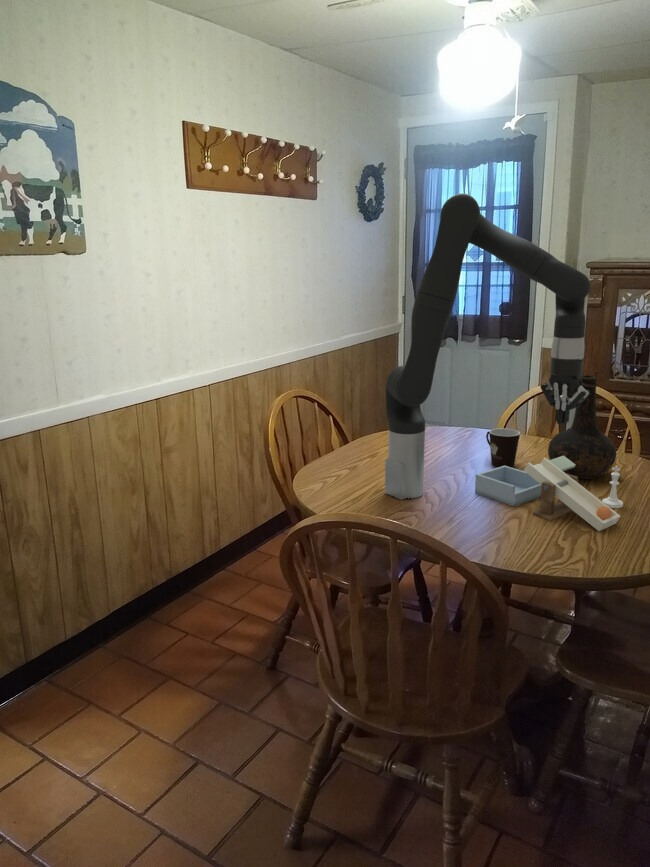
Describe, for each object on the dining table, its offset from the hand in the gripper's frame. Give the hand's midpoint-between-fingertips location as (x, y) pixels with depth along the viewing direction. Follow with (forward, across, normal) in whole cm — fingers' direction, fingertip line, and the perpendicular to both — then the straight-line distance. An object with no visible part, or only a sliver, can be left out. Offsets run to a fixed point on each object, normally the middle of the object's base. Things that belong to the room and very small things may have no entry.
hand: (562, 424), depth 166 cm
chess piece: (+19, +13, +5) cm, 23 cm away
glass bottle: (+19, -5, +19) cm, 27 cm away
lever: (+14, +9, -5) cm, 18 cm away
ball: (+16, +18, -9) cm, 26 cm away
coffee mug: (+19, -25, +10) cm, 33 cm away
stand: (+19, +6, -9) cm, 22 cm away
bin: (+19, -8, -9) cm, 22 cm away
